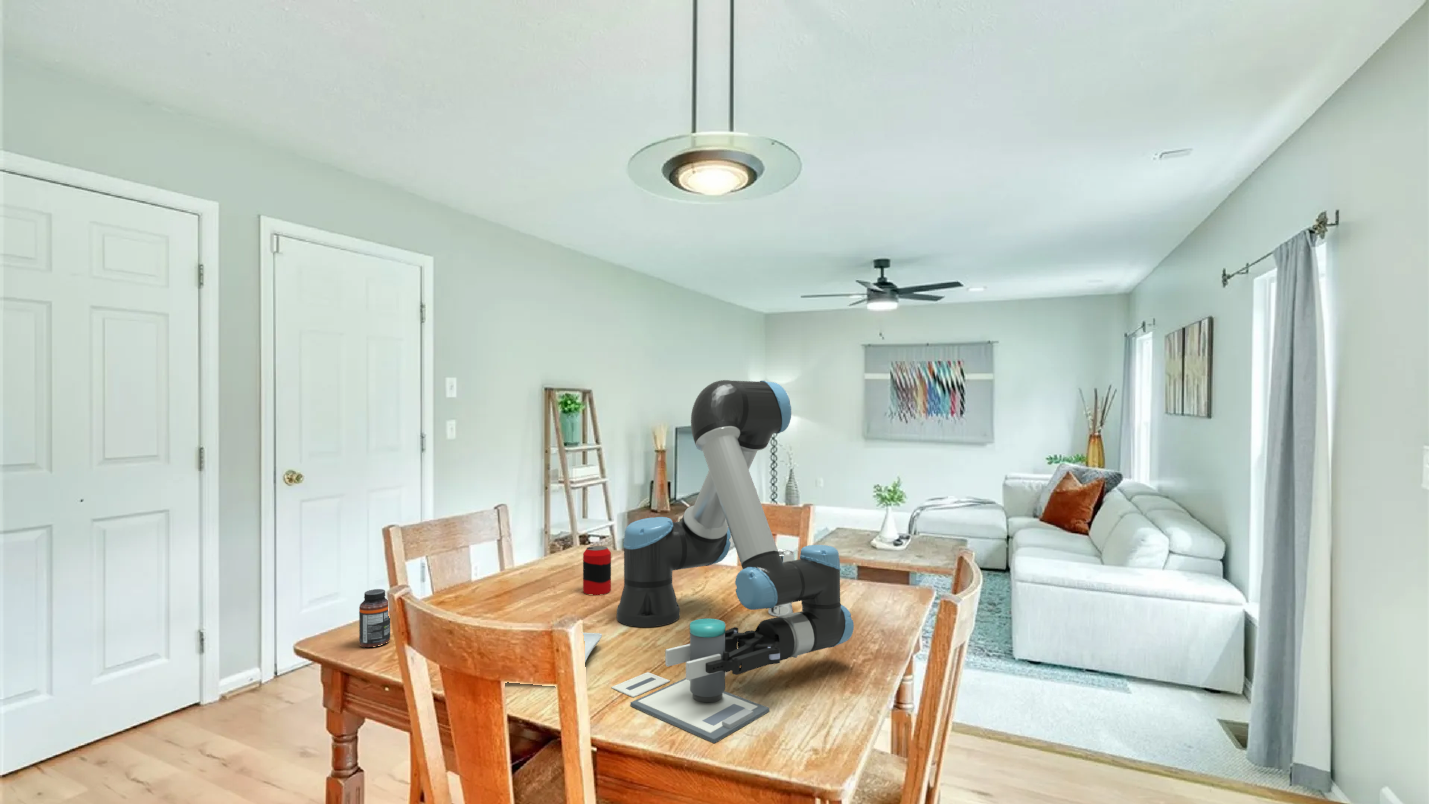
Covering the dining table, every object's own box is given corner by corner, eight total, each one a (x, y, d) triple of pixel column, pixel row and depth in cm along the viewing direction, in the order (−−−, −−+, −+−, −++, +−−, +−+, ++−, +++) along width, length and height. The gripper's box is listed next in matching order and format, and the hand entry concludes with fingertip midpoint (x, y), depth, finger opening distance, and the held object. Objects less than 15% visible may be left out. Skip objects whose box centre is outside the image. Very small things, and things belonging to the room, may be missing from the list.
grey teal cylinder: (682, 697, 114) (682, 624, 114) (706, 685, 118) (706, 616, 118) (709, 707, 110) (709, 632, 110) (732, 695, 114) (732, 623, 114)
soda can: (584, 588, 186) (584, 545, 186) (611, 587, 187) (611, 544, 187) (581, 596, 178) (581, 551, 178) (610, 595, 179) (610, 550, 179)
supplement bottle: (363, 640, 144) (363, 588, 144) (393, 638, 146) (393, 586, 146) (355, 650, 139) (355, 596, 139) (386, 647, 140) (387, 593, 140)
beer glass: (793, 618, 160) (793, 556, 160) (764, 616, 161) (764, 554, 161) (795, 609, 166) (795, 549, 167) (768, 607, 168) (768, 548, 168)
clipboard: (630, 705, 113) (630, 698, 113) (687, 680, 123) (687, 673, 123) (714, 743, 100) (714, 734, 100) (769, 711, 111) (769, 703, 111)
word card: (611, 688, 120) (611, 686, 120) (647, 673, 127) (647, 671, 127) (633, 697, 116) (633, 696, 116) (670, 681, 123) (670, 680, 123)
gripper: (818, 674, 116) (707, 708, 103) (752, 642, 131) (649, 668, 118) (818, 631, 116) (707, 659, 103) (752, 604, 131) (649, 626, 118)
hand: (676, 664), depth 111 cm, fingers closed on grey teal cylinder, 6 cm apart
